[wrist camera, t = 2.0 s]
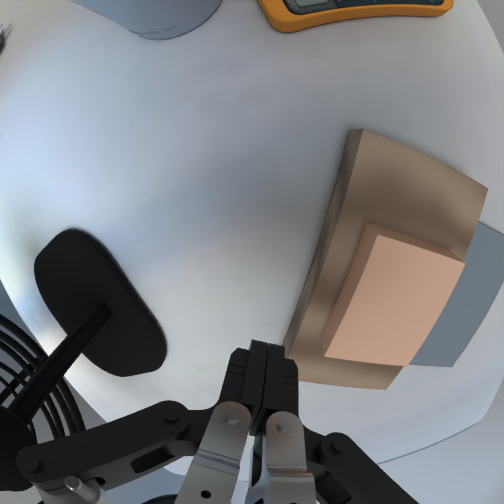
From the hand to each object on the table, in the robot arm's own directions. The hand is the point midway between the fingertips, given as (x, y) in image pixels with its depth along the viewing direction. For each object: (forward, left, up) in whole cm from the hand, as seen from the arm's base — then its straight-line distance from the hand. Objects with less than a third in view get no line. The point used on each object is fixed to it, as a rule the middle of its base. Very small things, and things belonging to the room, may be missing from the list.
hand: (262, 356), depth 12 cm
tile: (0, +9, -9) cm, 13 cm away
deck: (0, +9, -13) cm, 16 cm away
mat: (+1, +21, -13) cm, 25 cm away
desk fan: (+13, -20, -13) cm, 27 cm away
